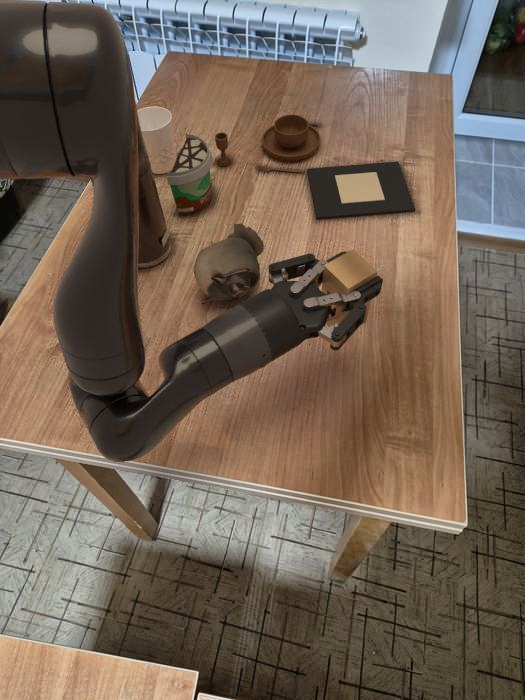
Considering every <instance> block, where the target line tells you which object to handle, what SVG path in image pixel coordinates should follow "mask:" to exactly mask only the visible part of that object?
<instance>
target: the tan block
mask: <svg viewBox="0 0 525 700" xmlns="http://www.w3.org/2000/svg"><path fill="white" fill-rule="evenodd" d="M350 250H351V251H350ZM350 250H348V251H349V252H348V251H346V252H347V253H345V254H343V255H342V256H340V257H338V258H336V259H334V260H332V261H331V262H329V263H327V264H325V265H324V271H323V281H322V284H321V291H322V292H323V293H325V294H326V295H329V294H333V293H339V294H343V293H349V292H351V291H356V288H358V287H360V286H361V285H363V284H365V283H367V282H368V281H370V280H372V279H373V278H375V277H377V276H378V272H379V271H378V270H377V269H376V268H375V267H374V266H372V264H370V263H369V262H368V261H367V260H366V259H365V258H364V257H363V256H362V255H360V253H359V252H358V251H356V250H355V249H354V248H352V249H350ZM371 302H372V300H370V301H368V302H366V303H365V305H366V307H367V309H366V313H365V318H364V322H363V323H362V324H361V325H360V326H359V327H361V326H362V325H364V324H365V323H366V322H367V320H368V315H369V311H370V307H371ZM331 307H332V305H331ZM331 307H330V309H331ZM348 314H349V313H347V314H343V315H341V317H339V318H337V319H334V320H330V321H327V322H326V325H327V327H331V326H332V325H334V324H335V323H338V325H339V324H340V323H341V322H342V320H343V319H344V318H345V317H346V316H347V315H348Z"/></svg>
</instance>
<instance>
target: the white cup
mask: <svg viewBox="0 0 525 700" xmlns="http://www.w3.org/2000/svg"><path fill="white" fill-rule="evenodd" d="M137 112H138V117H139V122H140V127H141V131H142V135H143V139H144V142H145V146H146V149H147V153H148V156H149V160H150V164H151V168H152V172H153V174H154V175H155V174H156V175H161V174H162V175H163V174H167V173H171V171H172V169H173V167H174V164H175V161H176V158H177V156H178V152H177V142H176V135H175V134H176V133H175V127H174V120H173V116H172V115H173V114H172V113H171V111H170V110H169V109H167V108H165V107H162V106H156V105H153V106H146V107H143V108H142V107H141V108H139V109H137Z"/></svg>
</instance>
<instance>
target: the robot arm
mask: <svg viewBox="0 0 525 700" xmlns="http://www.w3.org/2000/svg"><path fill="white" fill-rule="evenodd" d="M135 96H136V95H135V88H134V78H133V73H132V66H131V61H130V56H129V52H128V48H127V45H126V41H125V38H124V35H123V32H122V30H121V27H120V26H119V24H118V22H117V20H116V18H115V17H114V15H113V14H112V12H111V11H109V10H108V9H107V8H104V7H103V6H101V5H98V4H94V3H83V2H69V1H68V2H65V1H49V2H47V1H40V0H0V180H20V179H21V180H22V179H24V180H33V179H35V180H37V179H38V180H39V179H61V178H62V179H63V178H64V179H65V178H67V179H68V178H75V177H76V178H82V177H83V178H84V177H86V178H88V177H89V180H90V182H91V185H92V188H93V196H92V197H93V198H92V208H91V213H90V217H89V220H88V224H87V225H86V226H87V227H86V228H85V231H84V233H83V236H82V238H81V241H80V243H79V245H78V246H77V248H76V250H75V252H74V254H73V256H72V258H71V259H70V261H69V263H68V265H67V267H66V269H65V271H64V272H63V274H62V276H61V278H60V281H59V283H58V285H57V288H56V292H55V296H54V299H53V307H52V313H53V314H52V315H53V325H54V326H53V327H54V330H55V333H56V337H57V340H58V344H59V347H60V349H61V353H62V356H63V359H64V362H65V363H64V364H65V365H66V368H67V371H68V384H69V390H70V395H71V398H72V401H73V403H74V406H75V409H76V411H77V413H78V415H79V417H80V419H81V420H82V422H83V424H84V426H85V428H86V430H87V432H88V433H89V436H90V437H91V439H92V442H93V443H94V445H95V447H96V449H97V451H98V453H100V455H101V456H102V457H104V458H105V459H106V460H108V461H111V462H115V463H126V462H131V461H135V460H137V459H140V458H142V457H144V456H145V455H147V454H149V453H150V452H152V451H153V450H154V449H155V448H156V447H157V446H158V445H160V444H161V443H162V442H163V441H164V440H165V439H166V437H167V436H169V434H170V433H171V432H172V431H173V430H174V429H175V428H176V427H177V426H178V425H179V424H180V423H181V422H182V421H183V420H184V419H185V418H186V417H187V416H188V415H189V414H190V413H191V412H192V411H193V410H194V409H195V408H196V407H198V405H199V404H201V402H203V401H204V400H206V399H207V398H209V397H210V396H213V395H214V394H216V393H217V392H219V391H221V390H222V389H224V388H226V387H227V386H229V385H230V384H232V383H234V382H236V381H238V380H241V379H243V378H246V377H247V376H250V375H252V374H254V373H255V372H257V371H258V370H260V369H263V368H265V367H266V366H268V365H269V364H270V363H273V362H274V361H275V360H277V359H279V358H281V357H282V356H284V355H285V354H287V353H288V352H290V351H292V350H294V349H296V348H297V347H298V346H300V345H301V344H302V343H304V342H305V341H306V340H309V339H315V338H321V339H323V340H324V341H326V342H327V343H329V349H331V350H332V351H337V352H338V351H339V350H341V348H342V347H343V346H344V345H345V343H347V341H348V340H349V339H350V338H351V337H352V336H353V334H354V333H356V331H358V329H359V328H360V327H361V326H362V325H363V324H362V323H363V322H364V318H365V313H366V309H367V307H366V305H365V303H366V302H368V301H370V300H371V301H372V300H373V299H375V298H377V297H379V295H380V294H381V292H382V288H383V284H384V283H383V282H384V279H383V278H382V277H381V276H380V275H377V277H375V278H373V279H372V280H370V281H368V282H367V283H365V284H363V285H361V286H360V287H358V288H356V291H351V292H349V293H343V294H339V293H333V294H329V295H326V294H325V293H323V292H322V290H320V288H319V287H320V286H322V281H323V271H324V265H325V264H327V263H329V262H331V261H332V260H334V259H336V258H338V257H340V256H342V255H343V254H345V253H347V252H349V251H351V250H352V249H350V250H348V251H341V252H338V253H336V254H335V255H333V256H331V257H329V258H328V259H326V260H325V259H320V260H319V259H318V258H316V255H315V254H314V253H305V254H302V255H298V256H295V257H291V258H287V259H284V260H280V261H276V262H272V263H270V264H268V273H267V275H268V282H269V283H270V284H272V285H273V286H272V287H271V288H265V289H264V290H262V291H260V292H258V293H257V294H255V295H253V296H251V297H249V298H247V299H245V300H244V301H241V302H240V303H238V304H237V305H235V306H233V307H231V308H229V309H227V310H226V311H223V312H222V313H220V314H218V315H216V316H215V317H214V318H212V319H211V320H210V321H208V322H207V323H206V324H204V325H202V326H201V327H199V328H197V329H196V330H194V331H192V332H190V333H187V334H186V335H184V336H183V337H180V338H179V339H177V340H176V341H174V342H172V343H170V344H169V345H167V346H166V347H164V348H163V349H162V350H161V351H160V353H159V355H158V364H159V365H158V366H159V368H160V371H161V374H162V376H163V381H162V383H161V384H160V385H159V386H158V388H157V389H156V390H155V391H154V392H153V393H152V394H149V392H148V391H147V390H146V388H145V386H144V385H143V383H142V382H141V378H142V376H143V374H144V371H145V366H146V348H145V341H144V333H143V327H142V319H141V313H140V304H139V303H140V302H139V285H138V284H139V282H138V281H139V279H138V278H139V277H138V276H139V269H149V268H151V267H155V266H157V265H159V264H161V263H162V262H164V261H165V260H166V259H167V258H168V257H169V255H170V254H171V252H172V247H173V243H172V240H171V236H170V235H171V231H170V229H169V227H168V226H167V223H166V218H165V215H164V210H163V206H162V203H161V200H160V196H159V192H158V191H159V190H158V188H157V183H156V180H155V177H154V173H153V172H152V168H151V164H150V160H149V156H148V153H147V149H146V146H145V142H144V139H143V135H142V131H141V127H140V122H139V117H138V112H137V111H138V108H137V103H136V97H135ZM297 278H299V279H298V280H294V279H297ZM331 305H332V307H331ZM330 307H331V309H330ZM347 313H349V314H348V315H347V316H346V317H345V318H344V319H343V320H342V322H341V323H340V324H339V325H338V323H335V324H334V325H332V326H331V327H329V326H326V325H327V324H326V322H327V321H330V320H334V319H337V318H339V317H341V315H343V314H347ZM361 324H362V325H361ZM360 325H361V326H360Z"/></svg>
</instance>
